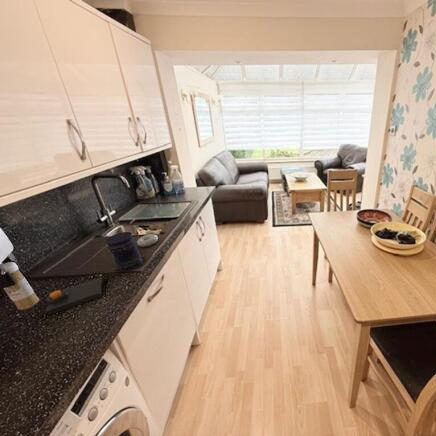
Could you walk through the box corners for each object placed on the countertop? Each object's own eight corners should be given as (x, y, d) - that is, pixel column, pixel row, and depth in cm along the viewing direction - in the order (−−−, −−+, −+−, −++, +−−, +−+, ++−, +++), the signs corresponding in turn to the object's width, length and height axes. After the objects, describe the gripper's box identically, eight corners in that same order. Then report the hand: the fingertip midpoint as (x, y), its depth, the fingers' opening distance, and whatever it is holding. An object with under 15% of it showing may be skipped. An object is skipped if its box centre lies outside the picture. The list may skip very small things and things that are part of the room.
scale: (46, 316, 86) (41, 308, 84) (55, 296, 95) (50, 289, 94) (101, 296, 93) (97, 289, 91) (104, 280, 102) (101, 273, 101)
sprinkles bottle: (13, 311, 66) (-16, 273, 61) (26, 300, 70) (0, 262, 65) (32, 308, 67) (4, 270, 61) (44, 297, 71) (19, 260, 65)
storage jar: (113, 270, 108) (99, 242, 102) (130, 258, 117) (118, 231, 110) (132, 271, 106) (119, 243, 100) (147, 259, 115) (137, 232, 108)
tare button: (50, 300, 89) (48, 297, 88) (52, 295, 91) (50, 292, 90) (60, 296, 90) (58, 293, 89) (62, 292, 92) (60, 289, 92)
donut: (137, 242, 131) (138, 250, 123) (135, 237, 129) (136, 244, 122) (157, 236, 135) (159, 243, 128) (155, 231, 134) (157, 238, 126)
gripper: (-33, 213, 62) (7, 269, 70) (-80, 240, 49) (-24, 306, 57) (7, 206, 66) (41, 261, 73) (-27, 230, 52) (19, 293, 60)
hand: (12, 280), depth 65 cm, fingers closed on sprinkles bottle, 4 cm apart
